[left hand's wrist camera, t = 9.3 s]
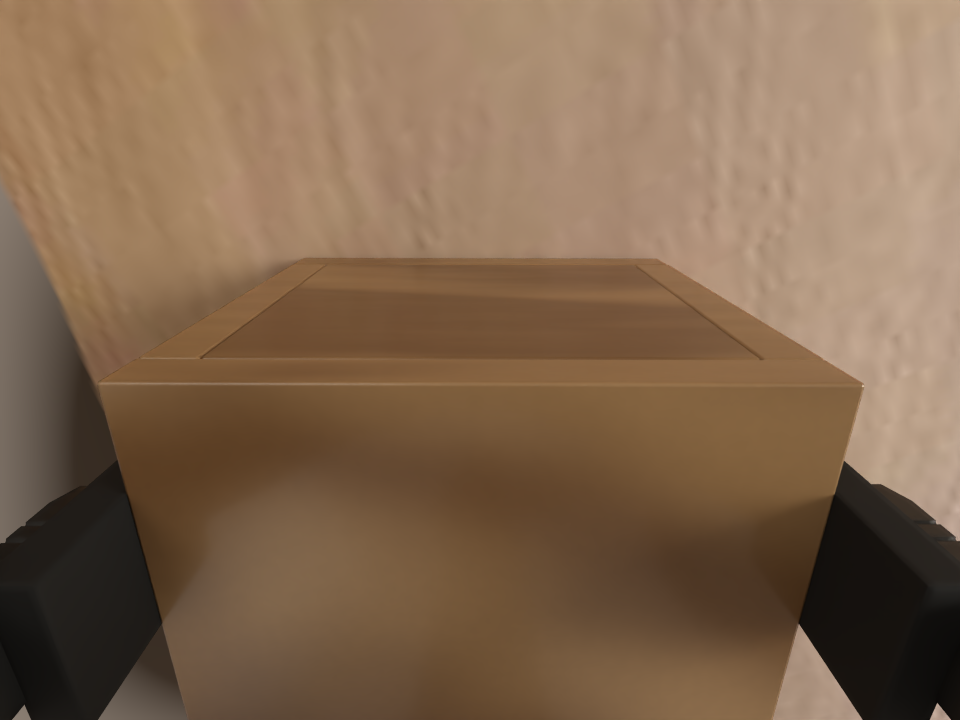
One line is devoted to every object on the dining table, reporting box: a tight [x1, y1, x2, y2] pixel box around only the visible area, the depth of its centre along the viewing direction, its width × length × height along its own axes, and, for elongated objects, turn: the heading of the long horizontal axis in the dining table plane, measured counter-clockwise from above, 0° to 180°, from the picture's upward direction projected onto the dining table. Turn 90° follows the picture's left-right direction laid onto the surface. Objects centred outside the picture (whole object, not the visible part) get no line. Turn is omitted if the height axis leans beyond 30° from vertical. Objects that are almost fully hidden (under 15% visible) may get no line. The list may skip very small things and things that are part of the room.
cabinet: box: [97, 258, 864, 720], centre depth 16 cm, size 17×11×10 cm
